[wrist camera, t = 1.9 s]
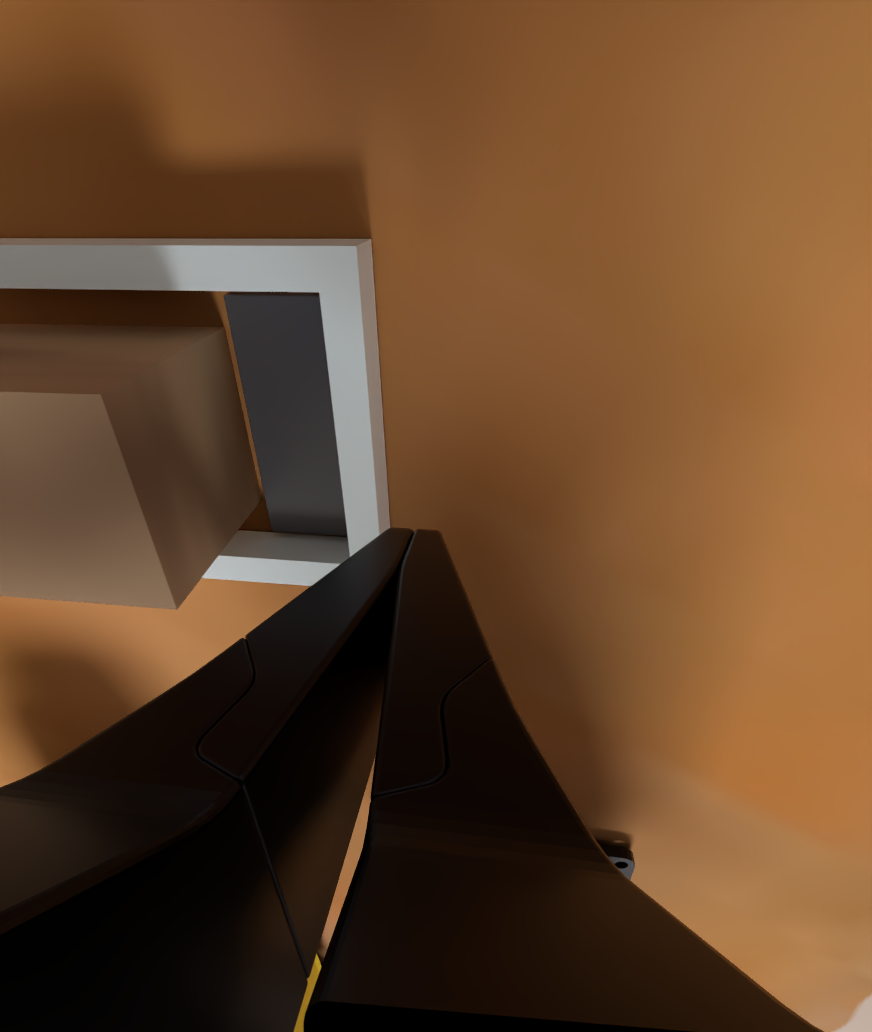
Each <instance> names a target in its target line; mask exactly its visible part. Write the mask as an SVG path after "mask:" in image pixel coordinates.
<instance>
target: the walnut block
mask: <svg viewBox="0 0 872 1032" xmlns="http://www.w3.org/2000/svg"><path fill="white" fill-rule="evenodd" d="M261 500H262V499H261V495H260V490H259V485H258V481H257V476H256V471H255V467H254V462H253V457H252V453H251V448H250V443H249V439H248V434H247V429H246V425H245V420H244V415H243V411H242V406H241V401H240V397H239V392H238V387H237V383H236V378H235V373H234V369H233V364H232V360H231V355H230V350H229V346H228V341H227V336H226V332H225V327H191V326H126V325H62V324H0V596H6V597H19V598H32V599H45V600H58V601H71V602H84V603H97V604H110V605H123V606H136V607H149V608H162V609H175V610H177V609H178V608H179V606H180V605H181V604H182V602H183V601H184V600H185V599H186V597H187V596H188V595H189V593H190V592H191V591H192V589H193V588H194V587H195V586H196V584H197V583H198V582H199V580H200V579H201V578H202V576H203V575H204V574H205V573H206V571H207V570H208V569H209V567H210V566H211V565H212V563H213V562H214V561H215V560H216V558H217V557H218V556H219V554H220V553H221V552H222V550H223V549H224V548H225V546H226V545H227V544H228V543H229V541H230V540H231V539H232V537H233V536H234V535H235V533H236V532H237V531H238V530H239V528H240V527H241V526H242V524H243V523H244V522H245V520H246V519H247V518H248V517H249V515H250V514H251V513H252V511H253V510H254V509H255V507H256V506H257V505H258V504H259V502H260V501H261Z"/></svg>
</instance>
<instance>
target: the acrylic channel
mask: <svg viewBox="0 0 872 1032" xmlns="http://www.w3.org/2000/svg"><path fill="white" fill-rule="evenodd" d="M0 288H20V289H97V290H174V291H250V292H319V294H287V293H228V294H226V295H224V300H225V305H226V309H227V314H228V319H229V324H230V329H231V334H232V339H233V344H234V349H235V353H236V358H237V363H238V368H239V373H240V378H241V383H242V388H243V393H244V397H245V402H246V407H247V412H248V417H249V422H250V427H251V432H252V437H253V441H254V446H255V451H256V456H257V461H258V466H259V471H260V476H261V481H262V485H263V490H264V495H265V500H266V505H267V510H268V515H269V520H270V524H271V529H272V531H278V532H294V533H310V534H325V535H341V536H348V537H338V536H323V535H307V534H291V533H276V532H260V531H245V530H238V531H237V532H236V533H235V535H234V536H233V537H232V539H231V540H230V541H229V543H228V544H227V545H226V546H225V548H224V549H223V550H222V552H221V553H220V554H219V556H218V557H217V558H216V560H215V561H214V562H213V563H212V565H211V566H210V567H209V569H208V570H207V571H206V573H205V574H204V575H203V576H202V578H211V579H225V580H238V581H251V582H265V583H278V584H292V585H305V586H312V585H313V584H315V583H316V582H317V581H319V580H320V579H321V578H323V577H324V576H325V575H327V574H328V573H329V572H331V571H332V570H333V569H335V568H336V567H337V566H339V565H340V564H341V563H343V562H344V561H345V560H347V559H348V558H349V557H351V556H352V555H353V554H355V553H356V552H357V551H359V550H360V549H361V548H363V547H364V546H365V545H367V544H368V543H369V542H371V541H372V540H373V539H375V538H376V537H377V536H379V535H380V534H381V533H383V532H384V531H385V530H387V529H388V528H390V516H389V500H388V485H387V470H386V455H385V440H384V425H383V409H382V394H381V379H380V364H379V349H378V334H377V318H376V303H375V288H374V273H373V258H372V242H371V239H185V238H0Z"/></svg>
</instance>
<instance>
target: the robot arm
mask: <svg viewBox="0 0 872 1032" xmlns="http://www.w3.org/2000/svg"><path fill="white" fill-rule="evenodd" d="M245 638H246V639H244V638H241V639H240V640H238V641H237V642H236V643H234V644H233V645H232V646H230V647H229V648H228V649H226V650H225V651H224V652H222V653H221V654H220V655H218V656H217V657H215V658H214V659H213V660H211V661H210V662H208V663H207V664H206V665H204V666H203V667H201V668H200V669H199V670H197V671H196V672H194V673H193V674H192V675H190V676H189V677H187V678H186V679H184V680H183V681H181V682H179V683H178V684H176V685H175V686H173V687H172V688H170V689H169V690H167V691H166V692H164V693H163V694H161V695H160V696H158V697H157V698H155V699H153V700H152V701H150V702H149V703H147V704H146V705H144V706H142V707H141V708H139V709H138V710H136V711H134V712H133V713H131V714H130V715H128V716H126V717H125V718H123V719H122V720H120V721H118V722H117V723H115V724H114V725H112V726H110V727H109V728H107V729H106V730H104V731H102V732H101V733H99V734H98V735H96V736H94V737H93V738H91V739H90V740H88V741H86V742H85V743H83V744H82V745H80V746H79V747H77V748H75V749H74V750H72V751H71V752H69V753H67V754H66V755H64V756H63V757H61V758H59V759H58V760H56V761H54V762H53V763H51V764H49V765H47V766H46V767H44V768H42V769H41V770H39V771H37V772H35V773H33V774H31V775H29V776H27V777H25V778H23V779H21V780H18V781H16V782H13V783H11V784H8V785H5V786H3V787H0V1032H294V1029H295V1025H296V1022H297V1019H298V1015H299V1012H300V1009H301V1005H302V1002H303V999H304V995H305V992H306V988H307V985H308V980H307V978H309V977H310V974H311V971H312V967H313V964H314V961H315V957H316V954H317V951H318V947H319V944H320V940H321V937H322V934H323V930H324V927H325V924H326V920H327V917H328V914H329V910H330V907H331V903H332V900H333V897H334V893H335V890H336V887H337V883H338V880H339V876H340V873H341V870H342V866H343V863H344V860H345V856H346V853H347V849H348V846H349V843H350V839H351V836H352V833H353V829H354V826H355V822H356V819H357V816H358V812H359V809H360V806H361V802H362V799H363V795H364V792H365V789H366V785H367V782H368V779H369V775H370V772H371V768H372V765H373V762H374V758H375V766H374V774H373V782H372V790H371V803H370V808H369V815H368V822H367V829H366V834H365V839H364V844H363V849H362V852H361V855H360V858H359V861H358V864H357V867H356V870H355V872H354V875H353V878H352V881H351V884H350V887H349V890H348V892H347V895H346V898H345V901H344V904H343V907H342V910H341V912H340V915H339V918H338V921H337V924H336V927H335V930H334V932H333V935H332V938H331V941H330V944H329V947H328V950H327V952H326V955H325V958H324V961H323V964H322V967H321V970H320V972H319V975H318V978H317V981H316V984H315V987H314V990H313V992H312V995H311V998H310V1001H309V1004H308V1007H307V1010H306V1012H305V1016H304V1022H303V1028H304V1032H824V1031H822V1030H820V1029H818V1028H817V1027H815V1026H813V1025H812V1024H810V1023H809V1022H807V1021H806V1020H805V1019H803V1018H802V1017H800V1016H799V1015H798V1014H796V1013H795V1012H793V1011H792V1010H791V1009H789V1008H788V1007H786V1006H785V1005H784V1004H782V1003H781V1002H780V1001H779V1000H777V999H776V998H775V997H774V996H772V995H771V994H770V993H769V992H767V991H766V990H765V989H764V988H762V987H761V986H760V985H759V984H757V983H756V982H755V981H754V980H753V979H751V978H750V977H749V976H748V975H746V974H745V973H744V972H743V971H741V970H740V969H739V968H738V967H736V966H735V965H734V964H733V963H731V962H730V961H729V960H728V959H727V958H725V957H724V956H723V955H722V954H720V953H719V952H718V951H717V950H715V949H714V948H713V947H712V946H710V945H709V944H708V943H707V942H705V941H704V940H703V939H702V938H701V937H699V936H698V935H697V934H696V933H694V932H693V931H692V930H691V929H689V928H688V927H687V926H686V925H684V924H683V923H682V922H681V921H679V920H678V919H677V918H676V917H674V916H673V915H672V914H671V913H670V912H668V911H667V910H666V909H665V908H663V907H662V906H661V905H660V904H658V903H657V902H656V901H655V900H653V899H652V898H651V897H650V896H648V895H647V894H646V893H645V892H644V891H642V890H641V889H640V888H639V887H637V886H636V885H635V884H634V883H633V882H631V881H630V878H631V876H632V873H633V870H634V867H635V863H634V857H633V853H632V851H631V850H629V849H627V848H623V847H616V846H607V845H599V844H598V843H597V841H596V840H595V839H594V837H593V836H592V834H591V832H590V831H589V829H588V828H587V826H586V825H585V823H584V822H583V820H582V818H581V817H580V815H579V813H578V812H577V810H576V808H575V807H574V805H573V804H572V802H571V800H570V799H569V797H568V795H567V794H566V792H565V790H564V789H563V787H562V786H561V784H560V782H559V781H558V779H557V777H556V776H555V774H554V772H553V771H552V769H551V768H550V766H549V764H548V763H547V761H546V759H545V758H544V756H543V754H542V753H541V751H540V750H539V748H538V746H537V745H536V743H535V741H534V740H533V738H532V736H531V734H530V733H529V731H528V729H527V727H526V726H525V724H524V722H523V720H522V718H521V717H520V715H519V713H518V711H517V710H516V708H515V706H514V704H513V701H512V699H511V697H510V695H509V693H508V691H507V689H506V686H505V684H504V682H503V680H502V678H501V675H500V673H499V670H498V668H497V666H496V663H495V661H494V660H493V657H492V654H491V652H490V650H489V647H488V645H487V642H486V640H485V638H484V635H483V633H482V630H481V628H480V626H479V623H478V621H477V618H476V616H475V614H474V611H473V609H472V606H471V604H470V602H469V599H468V597H467V594H466V592H465V590H464V587H463V585H462V582H461V580H460V578H459V575H458V573H457V570H456V568H455V566H454V563H453V561H452V558H451V556H450V554H449V551H448V549H447V546H446V544H445V542H444V539H443V537H442V534H441V533H440V531H438V530H424V529H418V530H415V532H414V531H413V530H412V529H407V528H388V529H387V530H385V531H384V532H383V533H381V534H380V535H379V536H377V537H376V538H375V539H373V540H372V541H371V542H369V543H368V544H367V545H365V546H364V547H363V548H361V549H360V550H359V551H357V552H356V553H355V554H353V555H352V556H351V557H349V558H348V559H347V560H345V561H344V562H343V563H341V564H340V565H339V566H337V567H336V568H335V569H333V570H332V571H331V572H329V573H328V574H327V575H325V576H324V577H323V578H321V579H320V580H319V581H317V582H316V583H315V584H313V585H312V586H311V587H309V588H308V589H307V590H305V591H304V592H303V593H301V594H300V595H299V596H297V597H296V598H295V599H293V600H292V601H291V602H289V603H288V604H287V605H285V606H284V607H283V608H281V609H280V610H279V611H277V612H276V613H275V614H273V615H272V616H271V617H269V618H268V619H267V620H265V621H264V622H263V623H261V624H260V625H259V626H257V627H256V628H255V629H253V630H252V631H251V632H249V633H248V634H247V635H246V637H245ZM375 755H376V757H375Z"/></svg>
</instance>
